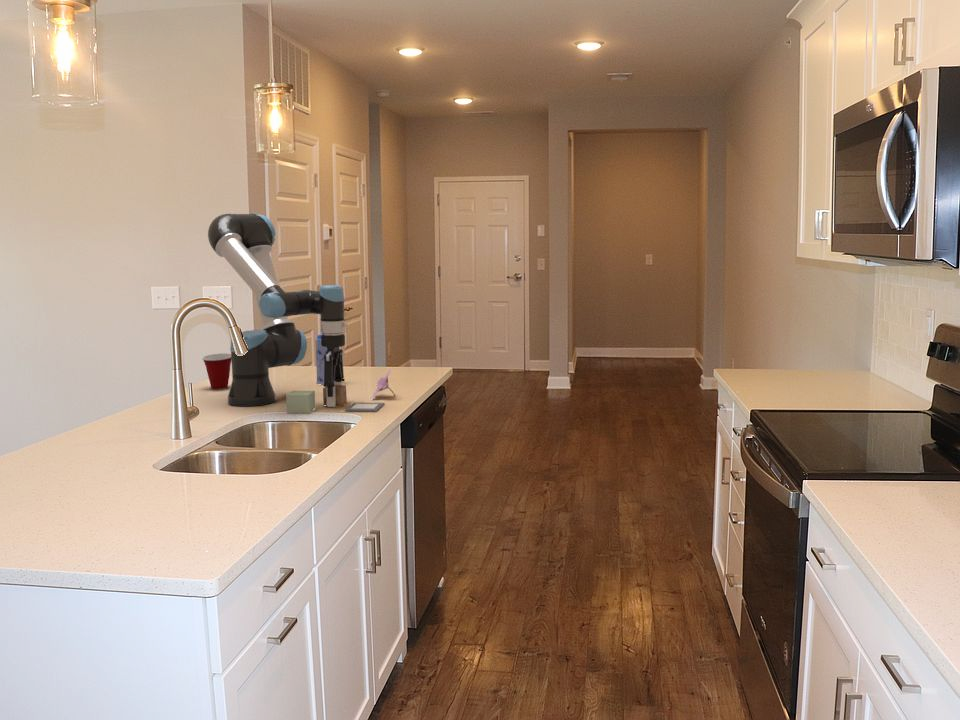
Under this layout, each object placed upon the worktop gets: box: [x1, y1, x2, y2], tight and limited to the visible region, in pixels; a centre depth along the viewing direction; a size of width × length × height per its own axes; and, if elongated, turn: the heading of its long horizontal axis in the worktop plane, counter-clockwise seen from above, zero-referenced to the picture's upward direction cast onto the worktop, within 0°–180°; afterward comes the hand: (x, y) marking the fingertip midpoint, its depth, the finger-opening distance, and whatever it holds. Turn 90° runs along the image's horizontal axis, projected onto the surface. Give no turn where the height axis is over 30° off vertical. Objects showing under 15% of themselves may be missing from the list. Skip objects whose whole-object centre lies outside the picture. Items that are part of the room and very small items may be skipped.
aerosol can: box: [315, 332, 336, 386], centre depth 327 cm, size 8×8×20 cm
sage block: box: [285, 390, 316, 415], centre depth 277 cm, size 7×7×6 cm
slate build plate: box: [344, 402, 385, 413], centre depth 281 cm, size 10×12×1 cm
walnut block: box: [322, 384, 348, 407], centre depth 287 cm, size 6×6×6 cm
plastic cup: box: [201, 352, 232, 390], centre depth 320 cm, size 11×11×12 cm
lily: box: [372, 368, 396, 400], centre depth 299 cm, size 12×12×10 cm
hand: (334, 403), depth 287 cm, fingers open, 7 cm apart
